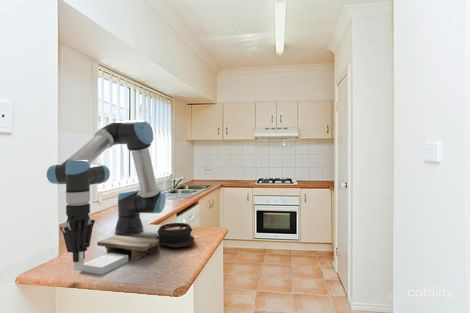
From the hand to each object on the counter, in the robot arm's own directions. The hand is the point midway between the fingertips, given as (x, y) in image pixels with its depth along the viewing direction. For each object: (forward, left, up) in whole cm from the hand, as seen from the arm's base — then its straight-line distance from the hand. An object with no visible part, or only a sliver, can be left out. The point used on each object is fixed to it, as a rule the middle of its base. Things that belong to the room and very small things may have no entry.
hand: (79, 269), depth 105 cm
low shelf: (-26, 0, -3) cm, 26 cm away
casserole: (-47, +11, -4) cm, 48 cm away
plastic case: (-13, 0, -4) cm, 13 cm away
